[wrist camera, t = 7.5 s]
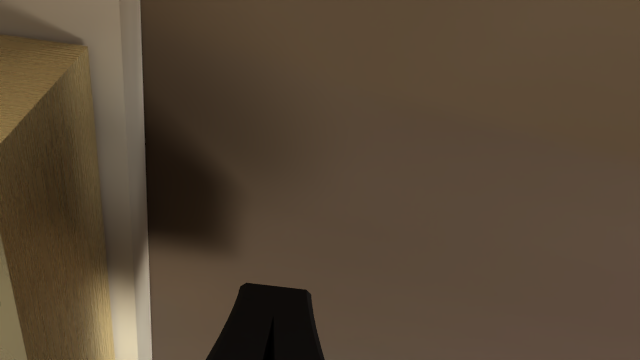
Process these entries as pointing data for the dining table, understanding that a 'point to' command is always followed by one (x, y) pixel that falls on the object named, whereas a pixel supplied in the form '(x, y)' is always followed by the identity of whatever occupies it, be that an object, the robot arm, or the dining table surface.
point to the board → (108, 142)
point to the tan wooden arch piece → (50, 207)
